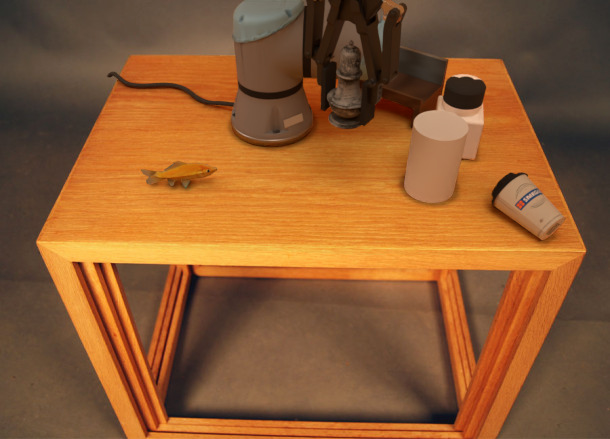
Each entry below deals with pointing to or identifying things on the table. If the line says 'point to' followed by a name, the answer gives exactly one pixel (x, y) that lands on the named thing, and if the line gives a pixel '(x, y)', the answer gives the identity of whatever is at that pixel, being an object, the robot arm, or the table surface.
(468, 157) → the container
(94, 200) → the table surface
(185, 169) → the fish
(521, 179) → the coffee cup
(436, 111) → the beige cylinder
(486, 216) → the table surface
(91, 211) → the table surface
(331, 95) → the salt shaker
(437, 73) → the spice rack
